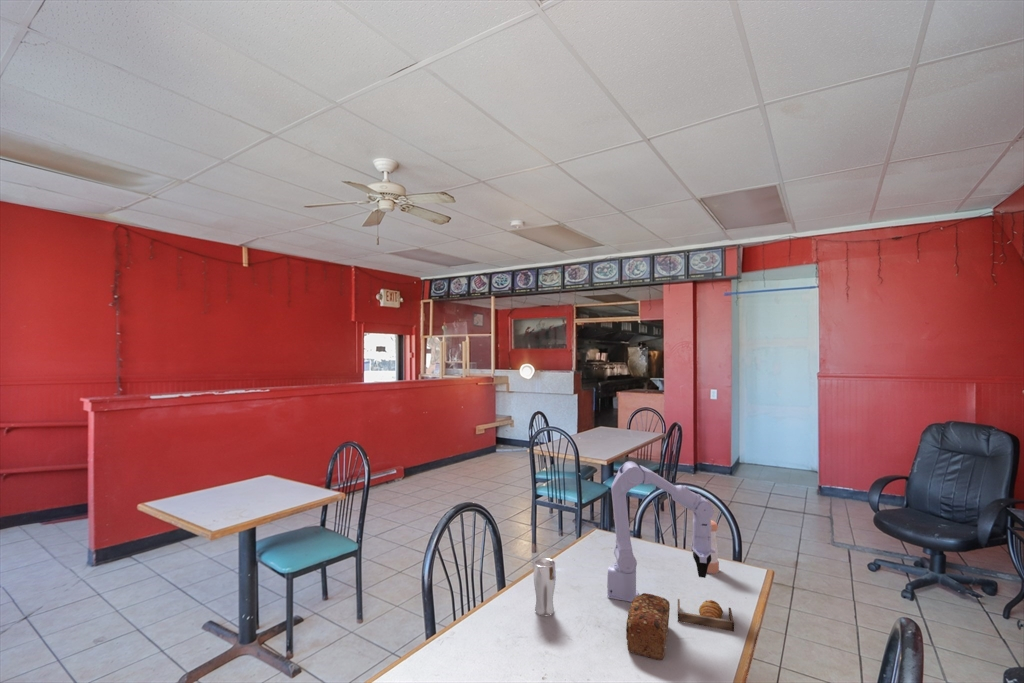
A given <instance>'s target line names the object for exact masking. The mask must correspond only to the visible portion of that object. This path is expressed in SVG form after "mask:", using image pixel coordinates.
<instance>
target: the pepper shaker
mask: <svg viewBox="0 0 1024 683" xmlns="http://www.w3.org/2000/svg"><path fill="white" fill-rule="evenodd" d="M718 529H719V526H718V523H717V522H716V521H715V520H712V519H711V549H715V553H711V562H710V563H709V566H708V569H707V574H717V572H718V573H719V570H720V566H719V563H720V562H719V560H718V558H719V557H718V556H719V554H718V553H719V551H718V547H717V546H718V545H717V530H718Z"/></svg>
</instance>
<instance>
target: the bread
mask: <svg viewBox="0 0 1024 683" xmlns="http://www.w3.org/2000/svg"><path fill="white" fill-rule="evenodd" d="M630 603H631V604H630V607H629V609H628V614H627V615H628V616H627V619H626V626H625V629H626V630H625V632H626V633H625V636H626V637H625V638H626V641H627V642H626V643H627V644H626V645H627V651H628V652H631V653H632V654H634V655H638V656H641V657H642V656H643V657H647V658H651V659H655V660H656V661H657V660H662V659H663V658H664V657H665V652H666V647H667V646H666V645H667V638H668V632H669V623H670V610H671V608H670V604H671V603H670V602H669V600H668V599H666V598H665V597H662V596H660V595H655V594H651V593H643V592H642V593H641V594H638V596H637V597H635V598H634V599H633V601H632V602H630Z"/></svg>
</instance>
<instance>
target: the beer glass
mask: <svg viewBox="0 0 1024 683" xmlns="http://www.w3.org/2000/svg"><path fill="white" fill-rule="evenodd" d="M556 576H557V575H556V561H555V560H554V559H551V558H543V557H541V558H537V559H535V560H534V566H533V584H534V592H535V606H534V612H535V611H536V612H535V613H536V614H537V613H538V614H540V615H539V616H541V615H549V616H551V615H550V614H552V613H553V612H554V613H555V607H554V594H555V593H554V592H555V589H556V588H555V587H556V581H557V578H556ZM554 613H553V614H554ZM538 614H537V615H538ZM553 614H552V615H553Z"/></svg>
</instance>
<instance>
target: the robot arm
mask: <svg viewBox="0 0 1024 683" xmlns="http://www.w3.org/2000/svg"><path fill="white" fill-rule="evenodd" d="M641 484H643V485H649V484H652V485H653V486H655V487H657V488H658V489H660V490H663V491H664V492H666V493H667V494H670V495H671V499H672V501H674V502H676V503H677V504H679V505H680V506H682V507H684V508H686V509H687V510H689V511H693V513H692V546H691V549H692V557H693V558H692V559H693V560H694V562H695V565H696V570H697V574H698V577H699V578H704V579H706V577H707V574H708V573H707V569H708V566H709V563H710V562H711V553H715V549H711V520H712V517H713V515H714V513H715V510H714V507H713V505H712V504H711V503H710V502H709V501H708V500H707V499H706V498H704V497H703V496H702V495H701V494H700V493H695V492H693V491H691V490H690V488H689V487H688V486H687V485H682V484H679V485H674V484H673V483H672V482H669V481H668V480H666V479H665V478H664V477H662V476H660V475H659V474H657V473H655V472H654V471H653V470H651V469H650V468H647V467H645V466H643V465H641V464H639V465H638V464H637V463H636V462H634V461H631V460H628V461H626V462H624V463H623V464H622V465H621V466H620V467H619V468H618V471H617V473H616V475H615V477H614V479H613V482H612V483H611V486H610V489H611V500H612V509H613V517H614V518H613V520H614V530H615V538H616V539H615V547H614V552H613V554H614V557H615V560H616V561H615V563H614V565H608V568H607V586H606V587H607V599H613V600H619V601H624V602H628V603H629V602H630V603H632V601H633V599H634V598H635V597H637V596H639V590H638V589H637V564H638V563H637V559H636V557H635V555H634V552H633V546H632V545H633V544H632V540H631V530H630V520H629V512H628V502H627V493H629V491H630V490H632V489H633V488H636V487H638V486H640V485H641Z"/></svg>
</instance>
